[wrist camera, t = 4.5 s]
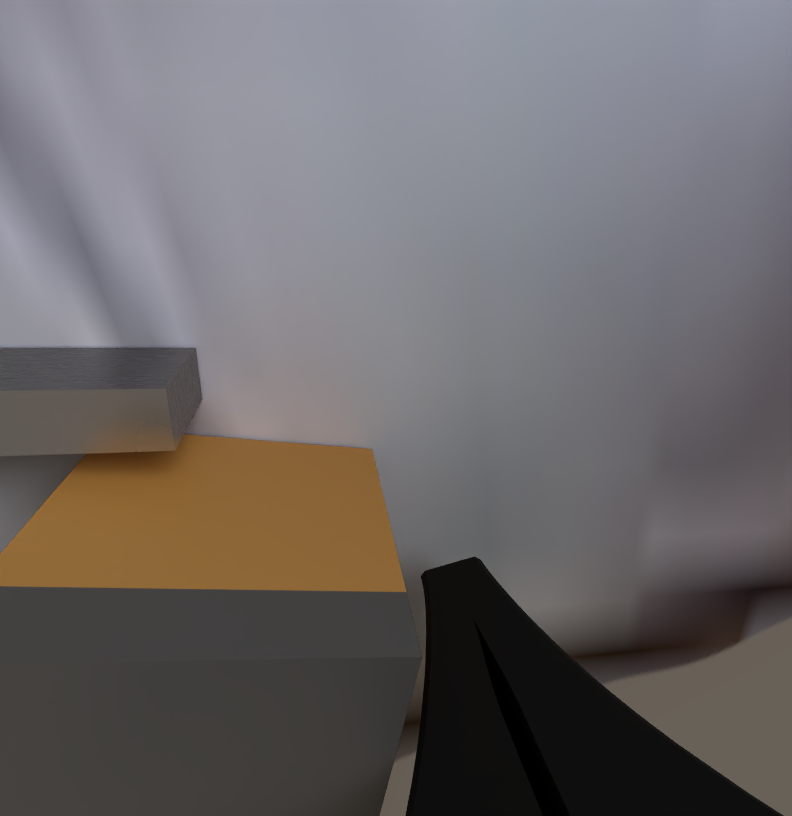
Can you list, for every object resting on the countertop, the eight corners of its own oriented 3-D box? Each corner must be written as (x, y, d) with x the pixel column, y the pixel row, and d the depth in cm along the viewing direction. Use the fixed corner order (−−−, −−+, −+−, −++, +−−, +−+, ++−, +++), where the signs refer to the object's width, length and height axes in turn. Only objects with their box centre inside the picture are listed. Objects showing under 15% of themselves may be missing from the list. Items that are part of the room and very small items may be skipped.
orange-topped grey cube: (372, 449, 10) (422, 656, 6) (341, 626, 12) (358, 889, 7) (108, 428, 9) (-95, 663, 4) (119, 627, 11) (-16, 934, 6)
